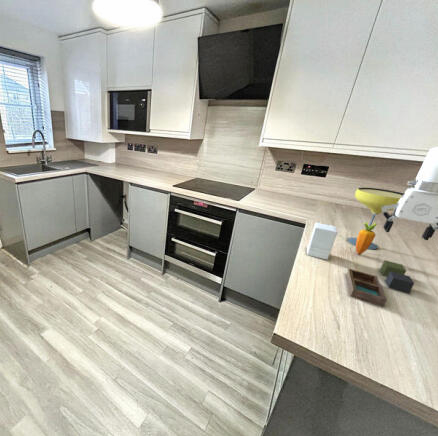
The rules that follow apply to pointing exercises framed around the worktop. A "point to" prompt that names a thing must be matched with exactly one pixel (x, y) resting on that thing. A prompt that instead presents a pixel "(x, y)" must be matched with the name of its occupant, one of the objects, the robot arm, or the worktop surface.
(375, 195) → the cocktail glass
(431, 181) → the robot arm
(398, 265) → the olive green block
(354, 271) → the brown divided tray
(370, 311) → the worktop surface
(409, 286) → the dark grey block
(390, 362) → the worktop surface
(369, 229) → the carrot
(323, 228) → the white packaging box
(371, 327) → the worktop surface
